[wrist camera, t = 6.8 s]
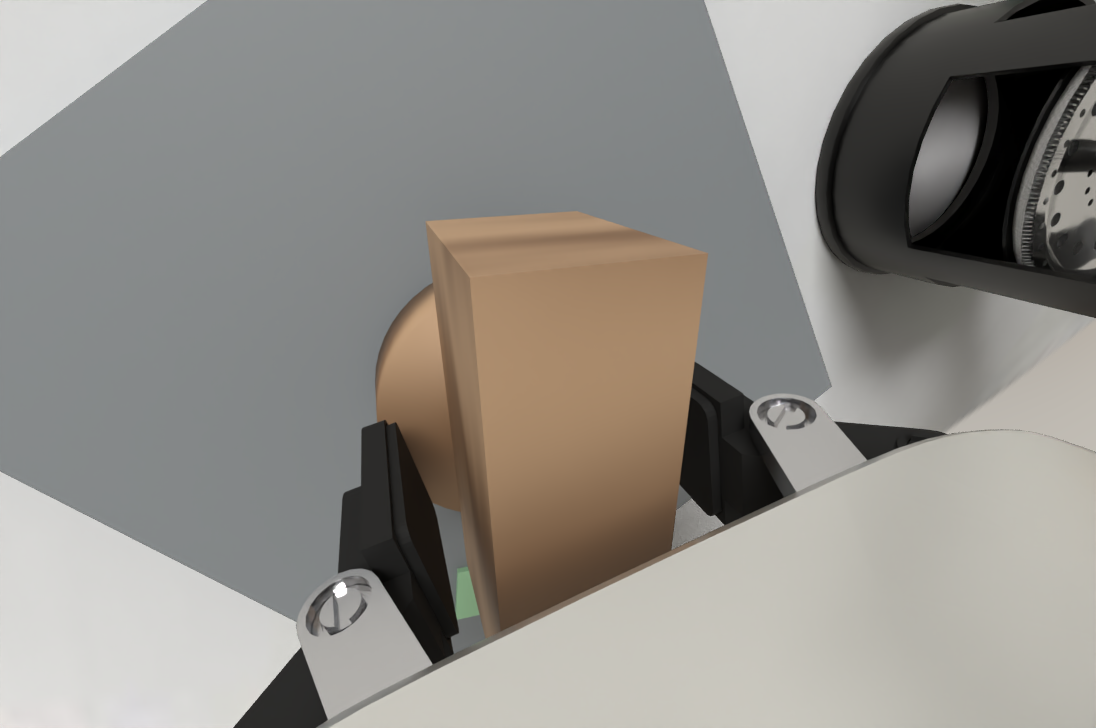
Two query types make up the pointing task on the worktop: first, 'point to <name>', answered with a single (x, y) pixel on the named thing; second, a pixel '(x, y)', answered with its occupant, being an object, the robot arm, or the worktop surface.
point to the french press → (1003, 162)
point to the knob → (547, 398)
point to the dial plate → (340, 248)
